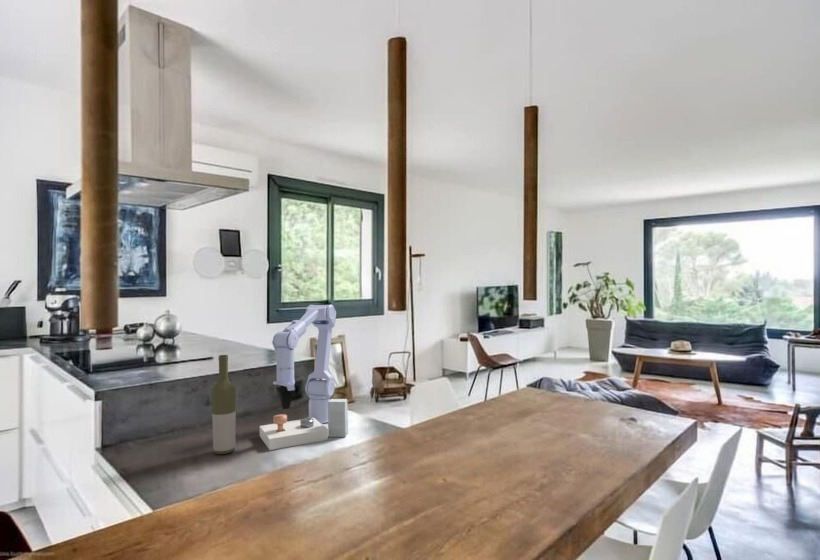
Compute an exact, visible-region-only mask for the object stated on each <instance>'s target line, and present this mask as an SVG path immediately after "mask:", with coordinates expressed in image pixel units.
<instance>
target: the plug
mask: <svg viewBox="0 0 820 560" xmlns="http://www.w3.org/2000/svg"><path fill="white" fill-rule="evenodd" d="M299 420H300V419H299ZM313 426H314V419H312V418H307V417H305V418H301V420H300V427H302V428H309V427H313Z"/></svg>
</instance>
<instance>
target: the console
mask: <svg viewBox="0 0 820 560" xmlns="http://www.w3.org/2000/svg"><path fill="white" fill-rule="evenodd" d="M301 419H302V418H301ZM301 419H296V420H294V419H293V420H289V421H288V420H287V422H286V423H284V424H283V431H282V432H278V424H274V423H269V424H264V425H259V437H260V439H261V440H262V441H263V444H265V445H266V447H267V449H268V450H269V451H273V450H278V449H285V448H290V447H295V446H299V445H300V446H301V445H305V444H310V443H311V444H312V443H317V442H318V443H319V442H322V441H326V440H329V434H328V427H326V426H325V425H324V424H323V423H322V424H321V423H320V422H319V421H317V420H316V419H315V418H314V417H313V418H312V419H314V426H313V427H309V428H302V427H300V420H301Z"/></svg>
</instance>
